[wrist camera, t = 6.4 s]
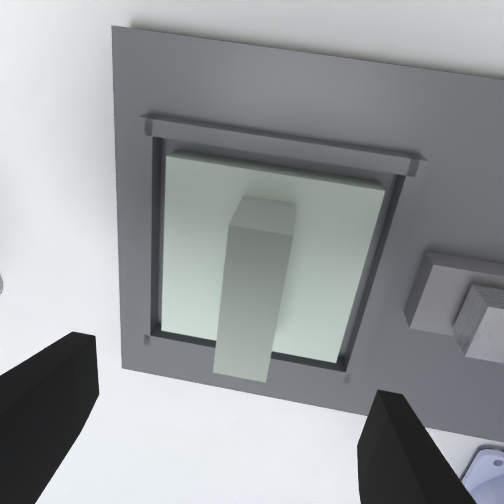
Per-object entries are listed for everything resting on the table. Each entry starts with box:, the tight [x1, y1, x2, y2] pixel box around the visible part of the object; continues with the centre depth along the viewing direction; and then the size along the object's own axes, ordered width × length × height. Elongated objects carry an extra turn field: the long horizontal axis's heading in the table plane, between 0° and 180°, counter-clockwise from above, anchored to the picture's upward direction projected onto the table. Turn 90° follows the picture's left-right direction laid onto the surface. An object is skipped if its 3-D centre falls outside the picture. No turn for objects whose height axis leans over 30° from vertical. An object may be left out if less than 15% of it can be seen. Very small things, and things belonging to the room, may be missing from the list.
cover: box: [161, 150, 385, 383], centre depth 15 cm, size 8×8×4 cm
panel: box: [112, 26, 504, 442], centre depth 17 cm, size 20×16×3 cm
